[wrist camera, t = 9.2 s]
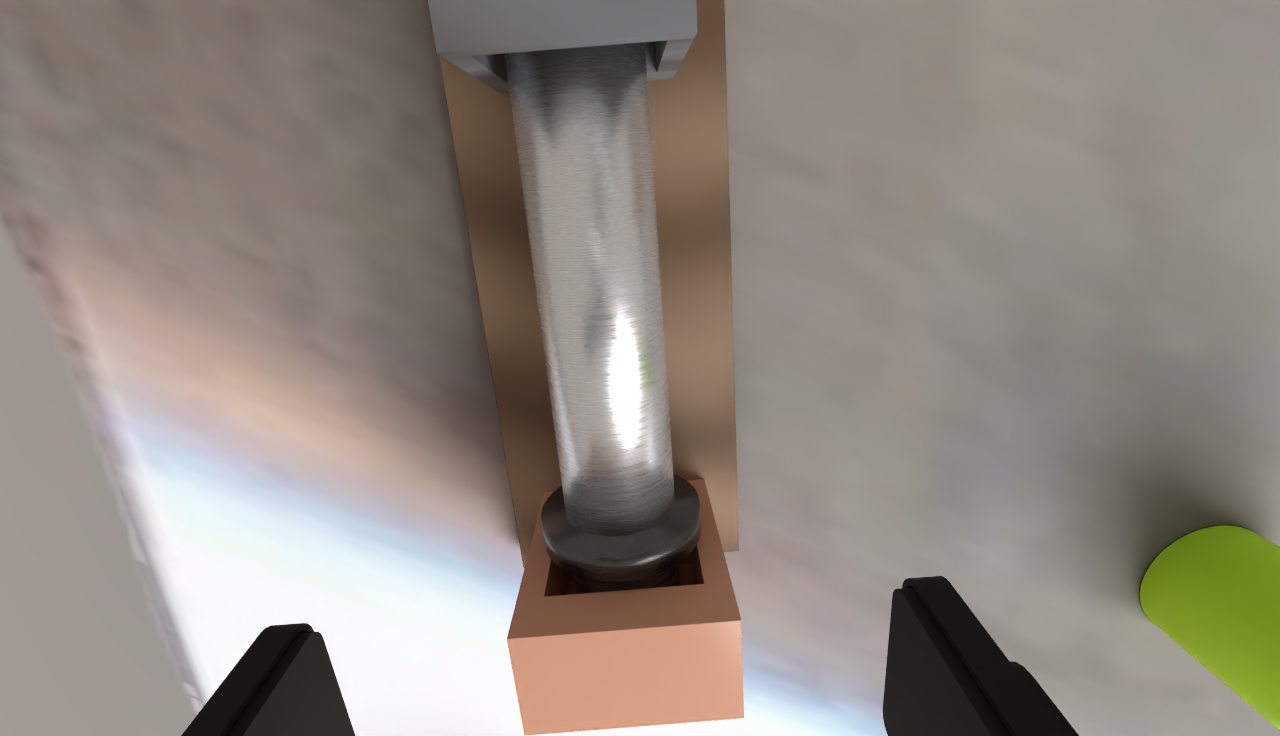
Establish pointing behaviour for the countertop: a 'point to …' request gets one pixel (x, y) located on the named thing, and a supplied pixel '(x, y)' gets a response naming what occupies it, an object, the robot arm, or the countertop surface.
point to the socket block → (627, 644)
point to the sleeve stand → (685, 209)
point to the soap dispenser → (1223, 608)
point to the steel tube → (601, 316)
